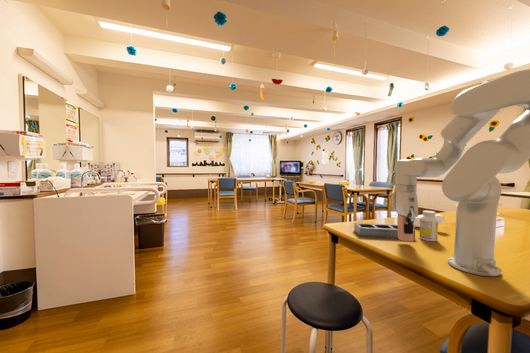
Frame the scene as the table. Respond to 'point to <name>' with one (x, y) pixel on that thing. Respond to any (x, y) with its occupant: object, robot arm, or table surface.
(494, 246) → the robot arm
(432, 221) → the supplement bottle
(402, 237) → the peg
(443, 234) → the table surface
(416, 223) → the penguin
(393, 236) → the grey compartment tray
